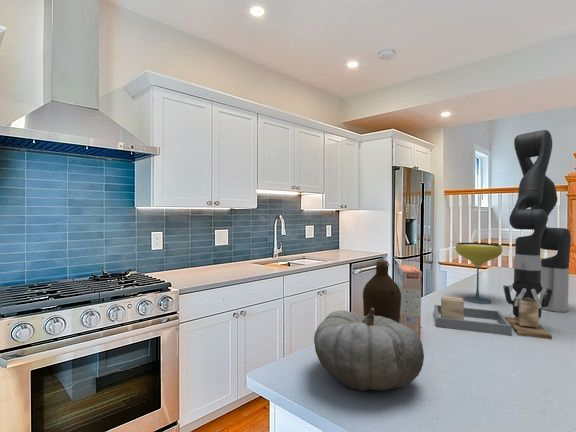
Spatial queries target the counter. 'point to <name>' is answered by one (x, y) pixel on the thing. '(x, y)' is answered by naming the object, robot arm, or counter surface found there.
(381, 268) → the olive oil
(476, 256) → the cocktail glass
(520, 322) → the tan box
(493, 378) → the counter surface
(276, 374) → the counter surface
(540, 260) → the robot arm
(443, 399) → the counter surface
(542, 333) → the board
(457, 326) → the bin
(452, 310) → the plain box
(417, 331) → the cracker box
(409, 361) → the gourd
